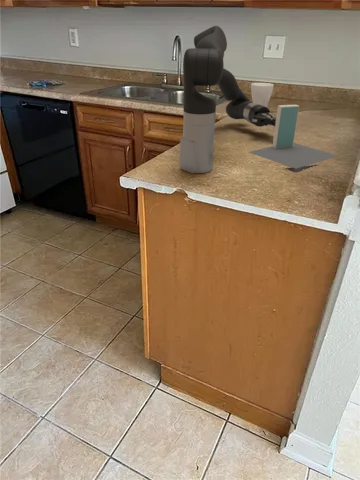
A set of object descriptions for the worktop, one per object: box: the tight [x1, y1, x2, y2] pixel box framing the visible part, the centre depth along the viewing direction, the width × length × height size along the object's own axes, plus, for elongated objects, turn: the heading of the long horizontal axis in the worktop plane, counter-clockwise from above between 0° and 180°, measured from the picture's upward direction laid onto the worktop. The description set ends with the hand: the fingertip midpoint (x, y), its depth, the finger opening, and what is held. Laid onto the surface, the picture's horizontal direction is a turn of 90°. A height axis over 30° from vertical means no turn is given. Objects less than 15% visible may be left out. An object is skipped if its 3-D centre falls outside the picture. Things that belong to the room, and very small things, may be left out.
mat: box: [249, 142, 339, 173], centre depth 128 cm, size 22×20×1 cm
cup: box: [250, 82, 274, 108], centre depth 184 cm, size 10×10×14 cm
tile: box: [271, 104, 300, 148], centre depth 131 cm, size 2×7×14 cm, turn 108°
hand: (279, 124), depth 134 cm, fingers closed
